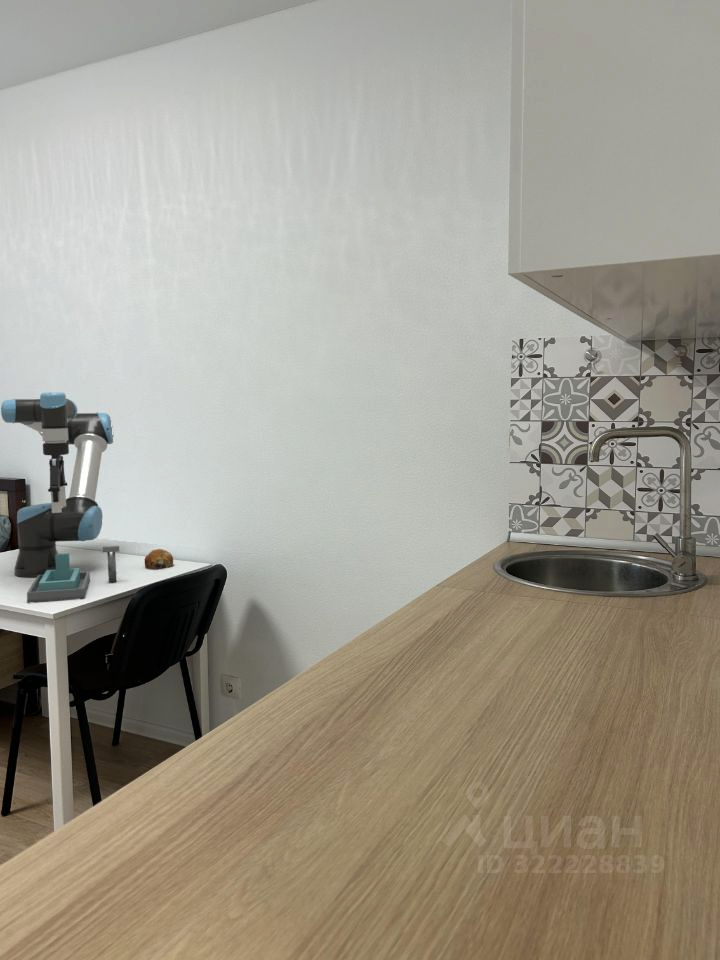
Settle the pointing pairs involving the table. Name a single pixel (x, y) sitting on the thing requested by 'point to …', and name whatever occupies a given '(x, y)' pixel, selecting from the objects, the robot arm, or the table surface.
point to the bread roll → (158, 559)
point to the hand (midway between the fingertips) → (59, 509)
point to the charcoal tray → (58, 591)
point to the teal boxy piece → (60, 575)
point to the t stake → (111, 562)
